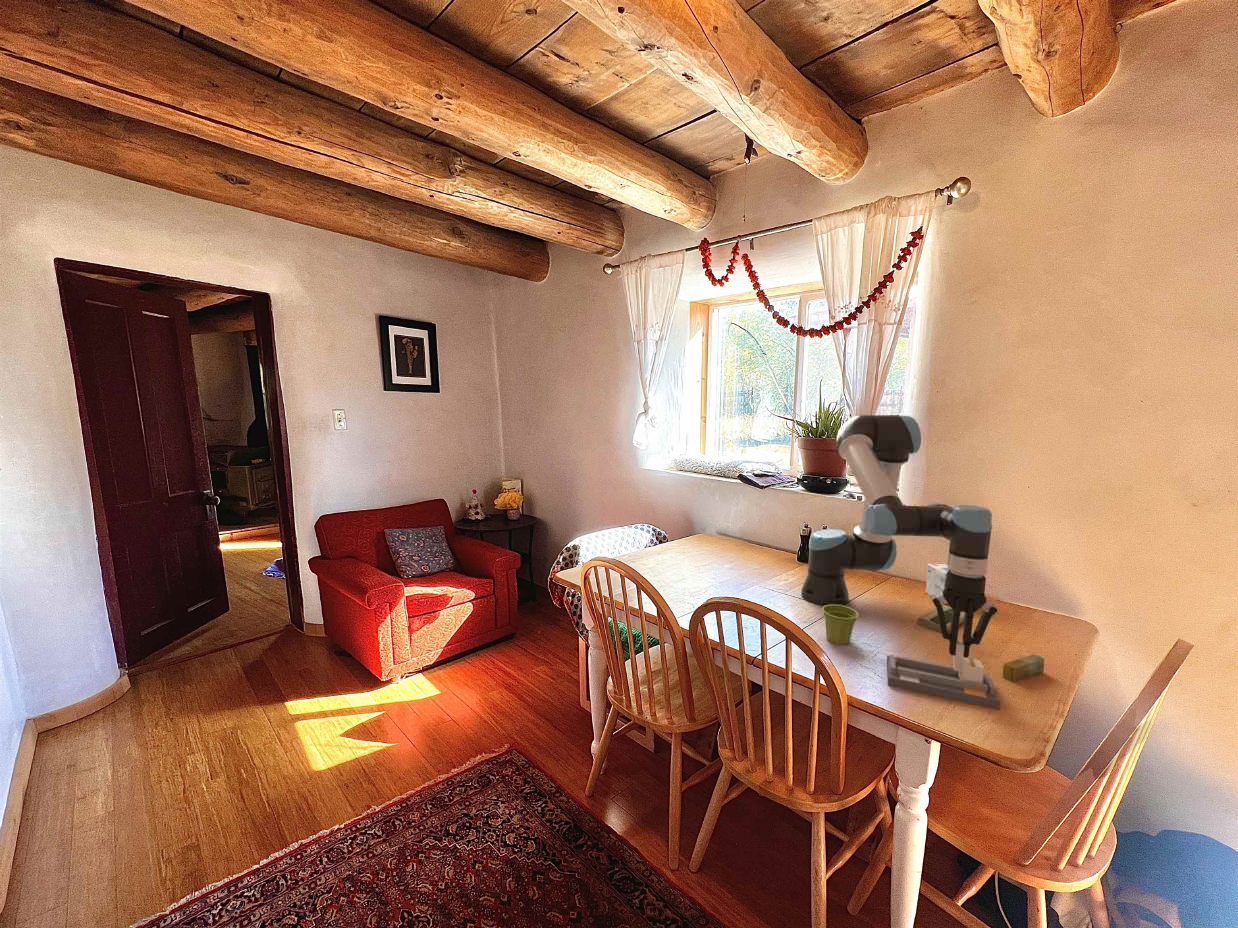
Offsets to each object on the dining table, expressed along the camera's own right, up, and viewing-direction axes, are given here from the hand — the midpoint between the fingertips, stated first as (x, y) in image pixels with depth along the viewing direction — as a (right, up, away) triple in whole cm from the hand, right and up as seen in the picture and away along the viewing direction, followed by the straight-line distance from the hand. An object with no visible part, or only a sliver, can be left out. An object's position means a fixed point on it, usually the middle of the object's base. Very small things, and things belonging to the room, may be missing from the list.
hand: (957, 668), depth 122 cm
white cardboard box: (+2, -3, -1) cm, 4 cm away
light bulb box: (+32, +2, +56) cm, 64 cm away
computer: (+20, -1, +37) cm, 42 cm away
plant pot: (-18, -2, +25) cm, 30 cm away
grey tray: (-3, -5, +2) cm, 6 cm away
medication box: (+21, -5, +7) cm, 22 cm away
